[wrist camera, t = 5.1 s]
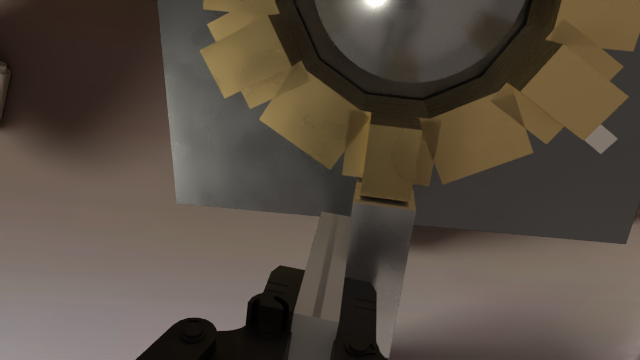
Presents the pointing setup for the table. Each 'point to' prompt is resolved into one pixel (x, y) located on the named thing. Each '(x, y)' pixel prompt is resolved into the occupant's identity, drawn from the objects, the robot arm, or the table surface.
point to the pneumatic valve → (3, 85)
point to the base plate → (409, 83)
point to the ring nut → (420, 113)
